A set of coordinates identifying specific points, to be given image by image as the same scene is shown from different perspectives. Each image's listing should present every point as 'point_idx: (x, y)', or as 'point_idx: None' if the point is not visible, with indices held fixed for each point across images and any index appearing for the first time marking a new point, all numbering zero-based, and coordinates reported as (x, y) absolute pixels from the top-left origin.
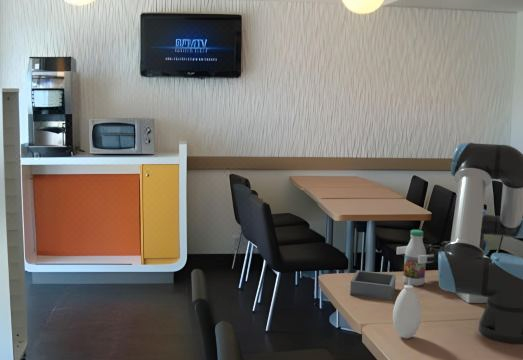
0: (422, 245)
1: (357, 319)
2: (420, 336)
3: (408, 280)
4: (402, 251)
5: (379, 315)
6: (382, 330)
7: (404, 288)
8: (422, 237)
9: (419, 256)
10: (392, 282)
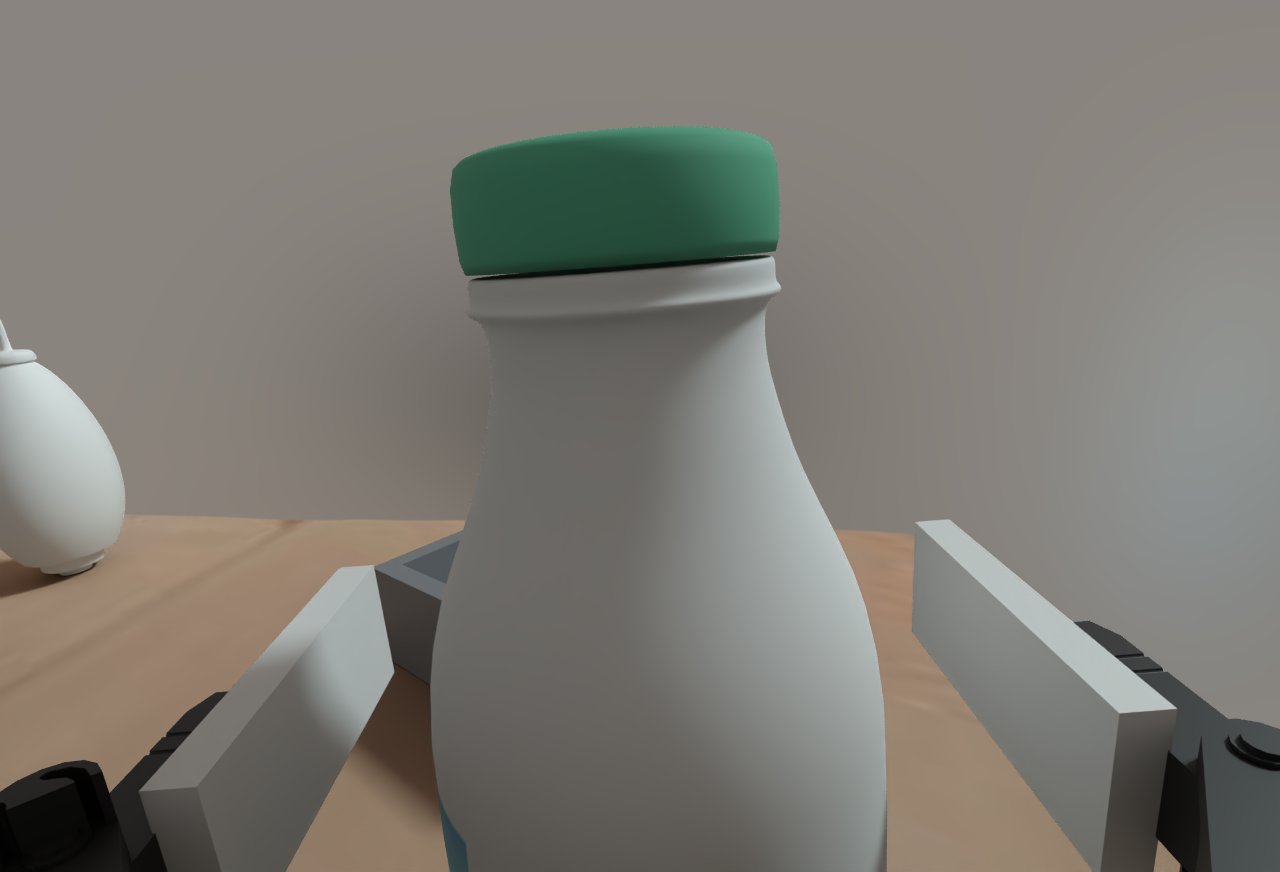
0: (471, 518)
1: (341, 521)
2: (4, 603)
3: (2, 326)
4: (960, 647)
5: (296, 569)
6: (196, 543)
7: (33, 361)
8: (491, 326)
9: (347, 570)
10: (428, 589)
